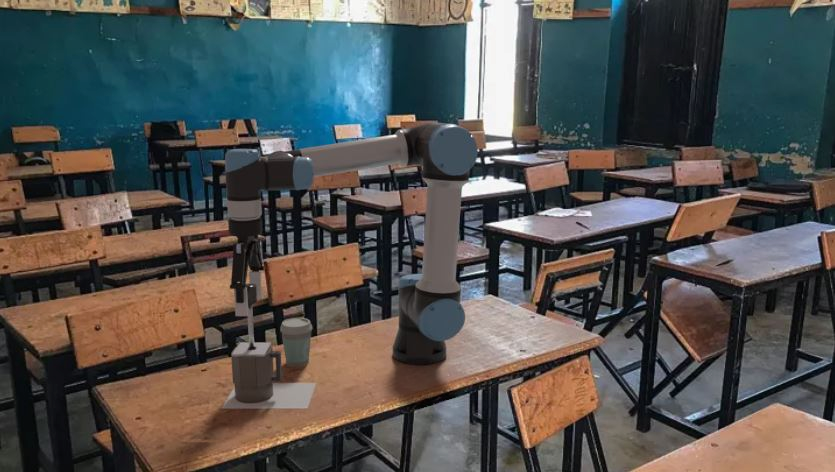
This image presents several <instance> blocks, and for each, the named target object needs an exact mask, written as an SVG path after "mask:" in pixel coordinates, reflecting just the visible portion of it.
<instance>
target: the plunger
mask: <svg viewBox="0 0 835 472" xmlns="http://www.w3.org/2000/svg"><path fill="white" fill-rule="evenodd" d="M246 287H247V297H248V316H247V329H248V343H249V350H255V348H254V343H255V333H254V332H255V330H254V315H253V313H254V312H253V305H254V304H257V303H258V298H257V285H256V284H249V283H246Z"/></svg>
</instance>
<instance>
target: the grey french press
mask: <svg viewBox="0 0 835 472" xmlns="http://www.w3.org/2000/svg"><path fill="white" fill-rule="evenodd" d="M254 348H255V350H249V341H248V342H246V341H245V342H244V341H243V342H239V343H238V344H237V345H236V346H235V347H234V348H233V350H232V351H231V353H230V357H231V371H232V372H231V373H232V384H234V387H235V398H236V400H237V401H239V402H242V403H259V402H263V401H266V400H268V399H270V398H271V397H272V396H273V383H274V382H281V381H282V379H283V372H282V351H281V350H273V346H272V342H254ZM274 358H275V370H274ZM274 371H275V372H274ZM274 373H275V374H274Z"/></svg>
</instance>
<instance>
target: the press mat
mask: <svg viewBox="0 0 835 472" xmlns="http://www.w3.org/2000/svg"><path fill="white" fill-rule="evenodd" d="M316 386H317V382H273V396H272V397H271V398H270V399H268V400H266V401H263V402H259V403H242V402H239V401H237V400H236V398H235V386H234V387H233V389H232V390H231V392H230V394H229V395H228V397H227V399H226V400H225V402H224V403H223V405H222V407H221V409H237V410H238V409H242V410H243V409H250V410H251V409H255V410H258V409H260V410H262V409H266V410H267V409H270V410H271V409H272V410H275V409H279V410H280V409H281V410H282V409H283V410H289V409H290V410H293V409H295V410H303V409H307V410H308V409H309V407H310V406H309V405H310V403H311V400H312V397H313V395H314V391H315V388H316Z"/></svg>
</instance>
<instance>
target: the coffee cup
mask: <svg viewBox="0 0 835 472" xmlns="http://www.w3.org/2000/svg"><path fill="white" fill-rule="evenodd" d="M312 330H313V325H312V322H311V320H310V319H308V318H303V317H291V318H287V319H284V320H282V323H281V325H280V329H279V331H280V333H281V338H282V345H283V350H284V355H285V356H284V358H285V362H286V363H285V364H286V365H287V366H289V367H290V368H300V367H305V366H306V365H307V366H308V364H309V362H310V361H309V360H310V351H311V338H312Z"/></svg>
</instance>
